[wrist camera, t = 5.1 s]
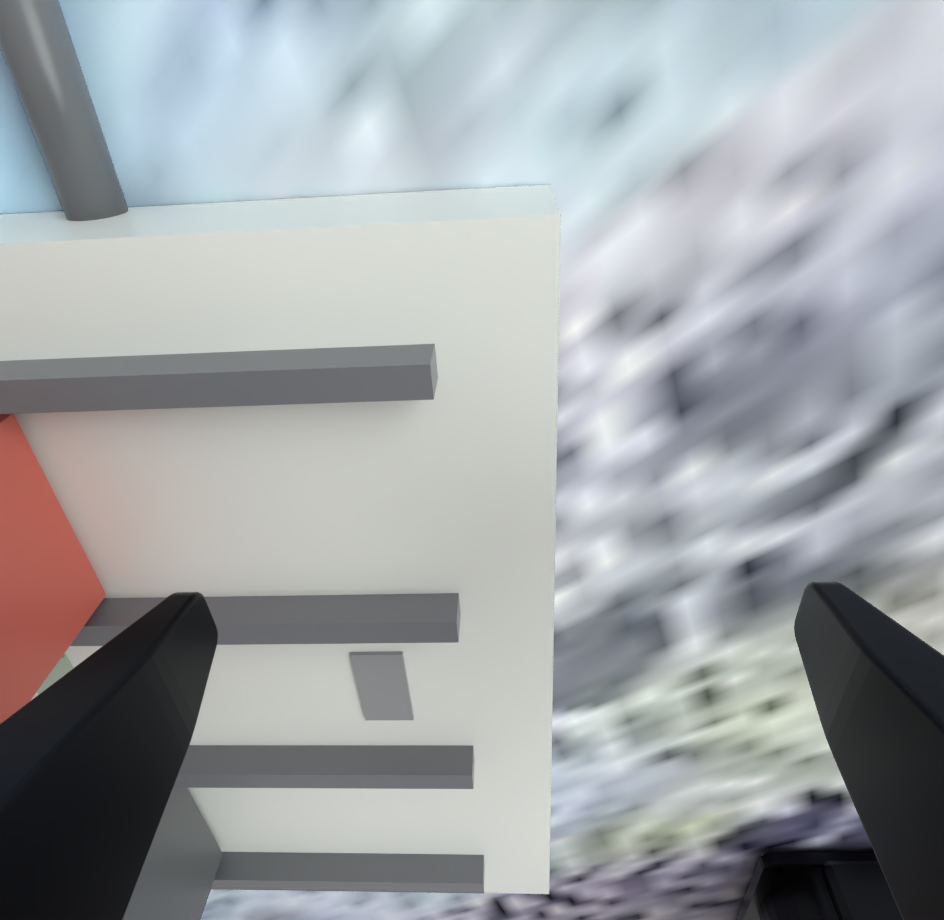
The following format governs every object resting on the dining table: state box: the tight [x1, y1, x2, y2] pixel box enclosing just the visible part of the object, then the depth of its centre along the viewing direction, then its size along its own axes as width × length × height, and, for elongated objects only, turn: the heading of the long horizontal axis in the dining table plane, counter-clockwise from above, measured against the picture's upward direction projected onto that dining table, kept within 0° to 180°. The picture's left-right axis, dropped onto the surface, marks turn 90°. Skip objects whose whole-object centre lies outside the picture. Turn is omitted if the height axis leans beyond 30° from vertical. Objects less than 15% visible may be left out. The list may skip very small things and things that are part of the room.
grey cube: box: [123, 788, 223, 920], centre depth 17 cm, size 4×4×4 cm
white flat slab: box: [0, 0, 561, 894], centre depth 15 cm, size 26×16×3 cm, turn 3°
